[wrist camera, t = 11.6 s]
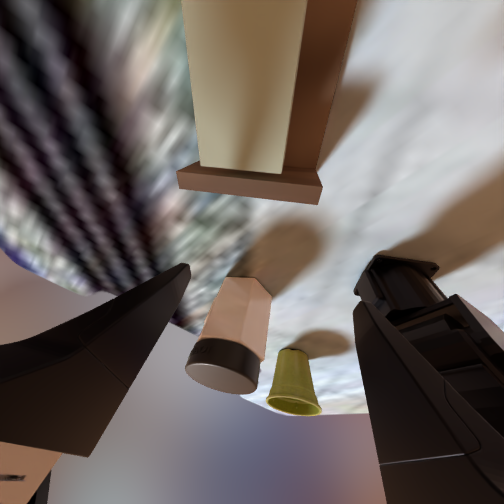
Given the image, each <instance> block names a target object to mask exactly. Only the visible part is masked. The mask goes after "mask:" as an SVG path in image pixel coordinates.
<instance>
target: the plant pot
mask: <svg viewBox="0 0 504 504" xmlns="http://www.w3.org/2000/svg"><path fill="white" fill-rule="evenodd" d="M266 403H267V404H268V405H269V406H270V407H272V408H274V409H276V410H279V411H282V412H285V413H288V414H293V415H301V416H315V415H319V414H320V413H321V412H322V410H321V407H320V406H319V405H318V400H317V397H316V395H315V392H314V387H313V382H312V377H311V372H310V366H309V361H308V357H307V355H306V354H305V353H304V352H302V351H300V350H290V349H284V350H281V351H280V352H279V353H278V358H277V363H276V368H275V373H274V378H273V383H272V388H271V389H270V393H269V396H268V397H267V398H266Z"/></svg>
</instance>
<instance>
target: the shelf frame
mask: <svg viewBox="0 0 504 504" xmlns="http://www.w3.org/2000/svg"><path fill="white" fill-rule="evenodd" d="M356 4H357V0H308V1H307V8H306V15H305V21H304V28H303V35H302V42H301V49H300V56H299V63H298V70H297V76H296V83H295V90H294V97H293V104H292V111H291V118H290V124H289V131H288V138H287V145H286V152H285V159H284V164H283V168H282V173H281V174H276V173H266V172H256V171H246V170H236V169H226V168H216V167H206V166H201V165H200V161H198V162H195V163H193V164H191V165H189V166H187V167H185V168H182V169H180V170H178V171H176V174H177V179H178V184H179V189H186V190H195V191H203V192H212V193H220V194H228V195H237V196H245V197H254V198H262V199H271V200H279V201H288V202H296V203H305V204H313V205H318V202H319V199H320V195H321V192H322V188H323V186H322V184H321V181H320V179H319V176H318V174H317V172H316V165H317V161H318V157H319V153H320V149H321V145H322V141H323V137H324V133H325V129H326V125H327V121H328V117H329V113H330V109H331V105H332V101H333V97H334V93H335V89H336V85H337V80H338V76H339V72H340V68H341V64H342V60H343V56H344V52H345V48H346V44H347V40H348V36H349V32H350V28H351V24H352V20H353V16H354V12H355V8H356Z"/></svg>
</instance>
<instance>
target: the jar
mask: <svg viewBox="0 0 504 504" xmlns="http://www.w3.org/2000/svg"><path fill="white" fill-rule="evenodd" d="M271 300H272V296H271V295H270V294H269V293H268V292H267V291H266V290H265V289H264V288H263V286H262V285H261V284H260V283H259V282H258V281H257V280H256V279H255V278H242V277H225V279H224V281H223V283H222V285H221V287H220V290H219V292H218V294H217V296H216V297H215V299H214V301H213V303H212V306H211V308H210V310H209V312H208V315H207V317H206V319H205V321H204V323H205V324H204V326H203V329H202V331H201V333H200V336H199V338H198V340H197V342H196V344H195V345H194V348H193V350H192V351H191V353H190V356H189V358H188V361H187V364H186V366H185V370H186V373H187V374H188V375H189V376H190V377H191V378H192V379H193V380H195V381H196V382H198V383H200V384H202V385H204V386H206V387H209V388H212V389H215V390H218V391H221V392H226V393H231V394H250V393H253V392H254V391H255V390H256V389H257V384H258V377H259V370H260V363H261V362H262V361H264V358H265V350H266V341H267V333H268V325H269V317H270V309H271Z"/></svg>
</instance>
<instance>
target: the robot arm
mask: <svg viewBox="0 0 504 504" xmlns="http://www.w3.org/2000/svg"><path fill="white" fill-rule="evenodd" d="M378 259H380V260H378ZM438 270H439V266H438V265H437V264H436V263H430V262H423V261H417V260H410V259H403V258H396V257H389V256H382V255H377V256H375V257H373V259H372V261H371V262H370V264H369V265H368V267H367V269H366V270H365V271H364V272H363V274H362V275H361V277H360V279H359V280H358V282H357V284H356V287H355V289H354V294H355V295H357V296H360V297H361V300H362V301H360V302H359V303H358V305H357V306H356V307H355V309H354V310H353V323H354V335H355V345H356V350H357V355H358V360H359V365H360V370H361V375H362V380H363V385H364V390H365V395H366V400H367V405H368V410H369V415H370V420H371V425H372V429H373V435H374V440H375V445H376V450H377V455H378V460H379V464H380V471H381V476H382V481H383V486H384V491H385V496H386V501H387V504H504V332H503V331H502V330H501V329H500V328H499V327H498V326H497V325H496V324H495V323H494V322H493V321H492V320H491V319H490V318H488V317H487V316H486V315H484V314H483V313H482V312H480V311H479V310H478V309H476V308H475V307H474V306H472V305H471V304H470V303H468V302H467V301H466V300H464V299H463V298H462V297H460V296H459V295H458V294H454V295H452V296H450V297H449V298H447V297H446V296H445V295H444V293H443V292H442V291H441V290H440V289H439V288H438V286H437V285H436V284H435V283H434V282H433V281H432V279H431V277H432V276H433V275H434V274H435V273H436V272H437V271H438ZM190 279H191V270H190V265H189V264H186V263H180V264H178V265H176V266H174V267H172V268H170V269H169V270H167V271H165V272H163V273H161V274H159V275H157V276H155V277H153V278H152V279H150V280H148V281H146V282H144V283H142V284H140V285H138V286H136V287H135V288H133V289H131V290H129V291H127V292H125V293H123V294H121V295H119V296H118V297H116V298H115V299H112V300H110V301H108V302H106V303H104V304H102V305H101V306H98V307H96V308H94V309H92V310H90V311H88V312H86V313H84V314H82V315H80V316H78V317H76V318H74V319H71V320H69V321H67V322H65V323H63V324H60V325H58V326H56V327H54V328H52V329H49V330H47V331H45V332H43V333H40V334H38V335H36V336H33V337H31V338H28V339H25V340H22V341H18V342H14V343H9V344H4V345H0V504H47V500H48V492H49V483H50V476H51V469H52V467H53V466H54V464H55V463H56V462H57V460H58V459H59V457H60V456H61V455H62V453H66V454H71V455H77V456H82V457H89V456H90V454H91V453H92V451H93V450H94V448H95V446H96V444H97V443H98V441H99V439H100V438H101V436H102V434H103V433H104V431H105V429H106V427H107V426H108V424H109V422H110V421H111V419H112V417H113V416H114V414H115V412H116V410H117V409H118V407H119V405H120V404H121V402H122V400H123V399H124V397H125V395H126V393H127V392H128V390H129V388H130V386H131V385H132V383H133V381H134V380H135V378H136V376H137V375H138V373H139V371H140V369H141V368H142V366H143V364H144V363H145V361H146V359H147V358H148V356H149V354H150V352H151V351H152V349H153V347H154V346H155V344H156V342H157V341H158V339H159V337H160V335H161V334H162V332H163V330H164V329H165V327H166V325H167V324H168V322H169V320H170V318H171V317H172V315H173V313H174V312H175V310H176V308H177V307H178V305H179V303H180V301H181V299H182V297H183V294H184V292H185V290H186V288H187V286H188V283H189V281H190Z"/></svg>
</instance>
